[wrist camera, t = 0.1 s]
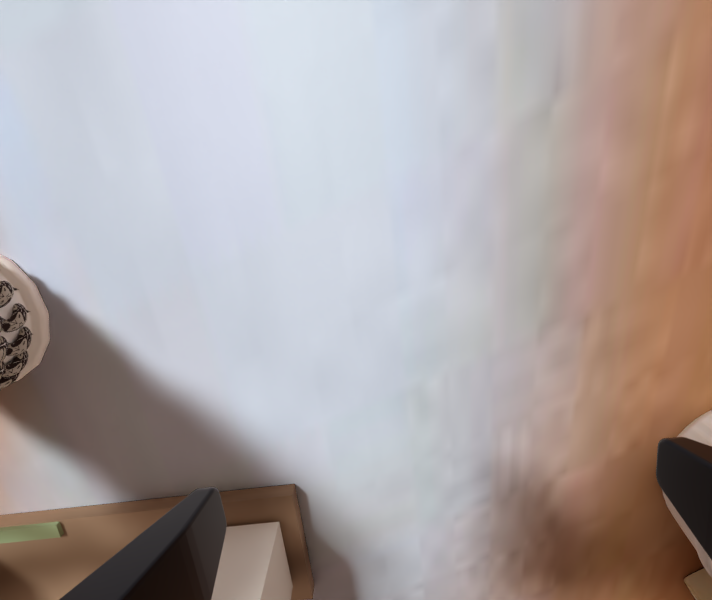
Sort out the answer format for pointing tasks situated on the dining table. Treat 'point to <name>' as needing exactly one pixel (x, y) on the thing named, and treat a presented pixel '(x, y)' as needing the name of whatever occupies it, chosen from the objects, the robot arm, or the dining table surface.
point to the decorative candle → (20, 324)
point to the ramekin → (703, 430)
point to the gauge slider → (253, 564)
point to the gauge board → (127, 539)
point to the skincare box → (700, 585)
